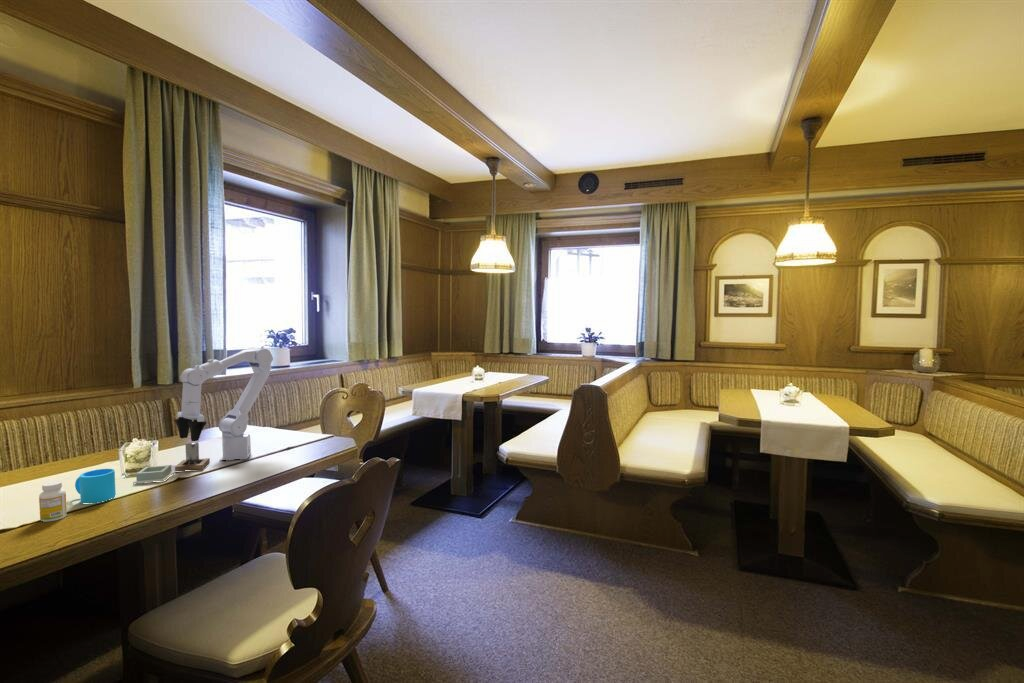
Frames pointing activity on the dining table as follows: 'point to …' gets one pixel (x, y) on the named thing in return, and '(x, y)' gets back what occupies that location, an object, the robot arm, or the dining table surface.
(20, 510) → the dining table surface
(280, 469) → the dining table surface
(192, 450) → the peg
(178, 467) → the socket
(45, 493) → the supplement bottle
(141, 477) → the grey square tray
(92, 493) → the mug
